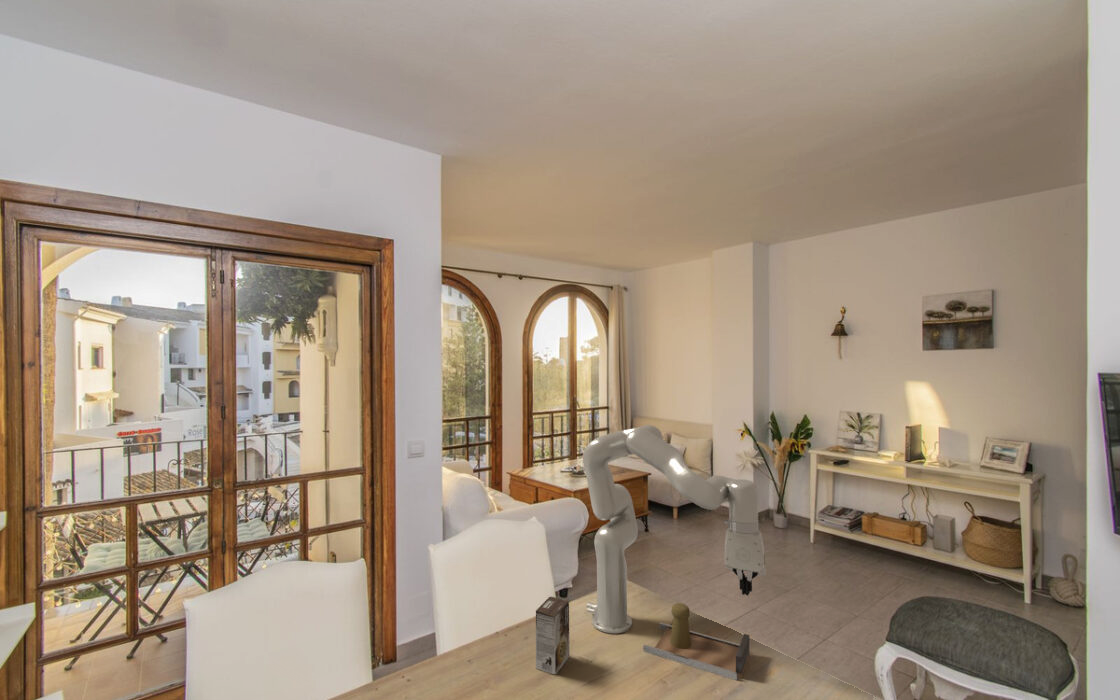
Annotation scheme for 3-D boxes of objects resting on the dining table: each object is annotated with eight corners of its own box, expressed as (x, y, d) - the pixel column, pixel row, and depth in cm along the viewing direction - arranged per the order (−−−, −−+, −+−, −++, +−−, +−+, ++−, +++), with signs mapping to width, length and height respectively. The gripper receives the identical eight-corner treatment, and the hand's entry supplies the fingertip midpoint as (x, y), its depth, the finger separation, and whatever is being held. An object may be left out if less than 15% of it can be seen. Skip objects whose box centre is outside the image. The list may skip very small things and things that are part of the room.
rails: (643, 651, 146) (643, 645, 146) (659, 627, 159) (659, 622, 159) (736, 680, 133) (736, 674, 133) (746, 651, 146) (746, 646, 146)
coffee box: (550, 651, 146) (549, 595, 146) (570, 657, 143) (570, 600, 143) (534, 669, 138) (534, 609, 138) (555, 675, 135) (555, 615, 135)
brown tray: (654, 651, 146) (654, 632, 146) (667, 631, 156) (667, 613, 156) (741, 678, 134) (741, 657, 134) (749, 654, 144) (749, 635, 144)
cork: (691, 650, 144) (691, 611, 144) (670, 647, 146) (670, 609, 146) (690, 638, 150) (690, 601, 150) (669, 636, 152) (669, 599, 152)
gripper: (713, 526, 140) (715, 593, 139) (771, 534, 132) (773, 605, 132) (719, 518, 146) (721, 582, 146) (774, 525, 139) (777, 593, 138)
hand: (746, 592), depth 139 cm, fingers closed
